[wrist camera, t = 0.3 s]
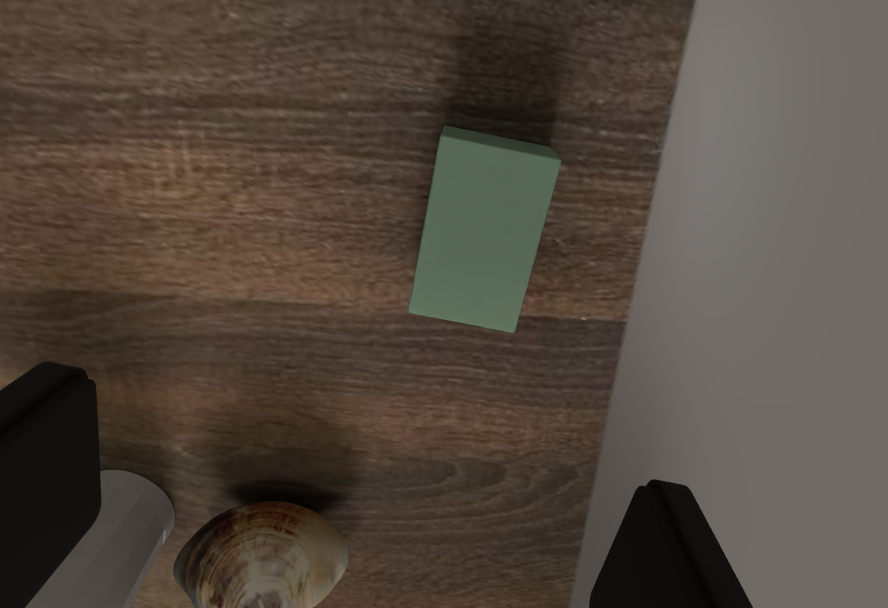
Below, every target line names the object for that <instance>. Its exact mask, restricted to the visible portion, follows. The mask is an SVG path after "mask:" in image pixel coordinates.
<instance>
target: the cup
mask: <svg viewBox="0 0 888 608" xmlns="http://www.w3.org/2000/svg"><path fill="white" fill-rule="evenodd" d="M100 478H101V499H102V502H101V509H100V512H99V515H98V517H97V519H96V521H95V523H94V524H93V525H92V527H91V528H90V529H89V530H88V532H87V533H86V534H85V535H84V537H83V538H82V539H81V540H80V541H79V543H78V544H77V545H76V546H75V548H74V549H73V550H72V551H71V552H70V554H69V555H68V556H67V557H66V559H65V560H64V561H63V562H62V563H61V565H60V566H59V567H58V568H57V570H56V571H55V572H54V573H53V574H52V576H51V577H50V578H49V579H48V581H47V582H46V583H45V584H44V585H43V587H42V588H41V589H40V590H39V592H38V593H37V594H36V595H35V596H34V598H33V599H32V600H31V601H30V603H29V604H28V605H27V606H26V607H25V608H130V606H131V604H132V602H133V601H134V599H135V597H136V595H137V593H138V591H139V589H140V587H141V585H142V583H143V581H144V579H145V578H146V576H147V574H148V572H149V570H150V568H151V566H152V564H153V562H154V560H155V558H156V557H157V555H158V553H159V551H160V549H161V547H162V545H163V544H164V542H165V540H166V539H167V537H168V536H169V534H170V532H171V531H172V529H173V527H174V524H175V512H174V508H173V505H172V503H171V501H170V500H169V498H168V497H167V495H166V494H165V493H164V492H163V491H162V490H161V489H160V488H159V487H158V486H157V485H155V484H154V483H153V482H151V481H150V480H148V479H146V478H144V477H142V476H140V475H137V474H135V473H131V472H128V471H123V470H102V471H100Z"/></svg>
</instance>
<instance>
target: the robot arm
mask: <svg viewBox="0 0 888 608" xmlns="http://www.w3.org/2000/svg"><path fill="white" fill-rule="evenodd" d="M101 502H102V499H101V478H100V458H99V437H98V416H97V396H96V385H95V382H94V381H93V380H91V379H88V376H87V373H86V372H85V370H83V369H81V368H77V367H72V366H67V365H61V364H56V363H51V362H43V363H40V364H38V365H37V366H35V367H34V368H32V369H31V370H29V371H28V372H26V373H25V374H24V375H22V376H21V377H19V378H18V379H16V380H15V381H13V382H12V383H11V384H9V385H8V386H6V387H5V388H3V389H2V390H0V608H25V607H26V606H27V605H28V604H29V603H30V601H31V600H32V599H33V598H34V596H35V595H36V594H37V593H38V592H39V590H40V589H41V588H42V587H43V585H44V584H45V583H46V582H47V581H48V579H49V578H50V577H51V576H52V574H53V573H54V572H55V571H56V570H57V568H58V567H59V566H60V565H61V563H62V562H63V561H64V560H65V559H66V557H67V556H68V555H69V554H70V552H71V551H72V550H73V549H74V548H75V546H76V545H77V544H78V543H79V541H80V540H81V539H82V538H83V537H84V535H85V534H86V533H87V532H88V530H89V529H90V528H91V527H92V525H93V524H94V523H95V521H96V519H97V517H98V515H99V512H100V509H101ZM589 608H753V607H752V605H751V603H750V601H749V599H748V597H747V596H746V594H745V592H744V590H743V588H742V586H741V584H740V582H739V580H738V579H737V577H736V575H735V573H734V571H733V569H732V567H731V565H730V564H729V562H728V560H727V558H726V556H725V554H724V552H723V550H722V548H721V547H720V545H719V543H718V541H717V539H716V537H715V535H714V533H713V532H712V530H711V528H710V526H709V524H708V522H707V520H706V518H705V516H704V515H703V513H702V511H701V509H700V507H699V505H698V503H697V502H696V499H695V498H694V496H693V494H692V492H691V490H690V489H689V488H688V487H687V486H685V485H681V484H676V483H671V482H666V481H661V480H655V479H654V480H651V481H649V482H648V484H647V485H646V486H639V487H638V488H637V490H636V491H635V493H634V496H633V498H632V500H631V502H630V505H629V507H628V510H627V512H626V514H625V516H624V518H623V521H622V523H621V525H620V528H619V530H618V532H617V535H616V537H615V539H614V541H613V544H612V546H611V548H610V551H609V553H608V555H607V557H606V560H605V562H604V564H603V567H602V569H601V571H600V574H599V576H598V578H597V581H596V583H595V585H594V587H593V590H592V593H591V596H590V604H589Z"/></svg>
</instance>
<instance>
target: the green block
mask: <svg viewBox="0 0 888 608" xmlns="http://www.w3.org/2000/svg"><path fill="white" fill-rule="evenodd" d="M561 162H562V160H561V159H560V158H559V157H558V155H557V154H556V153H555V152H554V151H553V150H552V149H551V148H550V147H547V146H543V145H538V144H533V143H528V142H523V141H518V140H514V139H509V138H504V137H499V136H494V135H489V134H485V133H480V132H475V131H470V130H465V129H460V128H455V127H451V126H444V127H443V130H442V133H441V135H440V139H439V145H438V150H437V156H436V161H435V167H434V172H433V178H432V183H431V188H430V194H429V199H428V205H427V210H426V216H425V221H424V226H423V232H422V237H421V243H420V248H419V254H418V259H417V265H416V270H415V275H414V281H413V286H412V292H411V297H410V303H409V308H408V312H409V313H413V314H419V315H424V316H429V317H434V318H439V319H445V320H450V321H455V322H460V323H465V324H471V325H476V326H481V327H486V328H491V329H497V330H502V331H507V332H512V333H514V332H515V329H516V326H517V322H518V318H519V315H520V311H521V307H522V304H523V300H524V296H525V293H526V289H527V286H528V282H529V278H530V275H531V271H532V267H533V264H534V260H535V256H536V253H537V249H538V246H539V242H540V238H541V235H542V231H543V227H544V224H545V220H546V216H547V213H548V209H549V206H550V202H551V198H552V195H553V191H554V187H555V184H556V180H557V176H558V173H559V169H560V166H561Z"/></svg>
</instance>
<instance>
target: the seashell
mask: <svg viewBox="0 0 888 608" xmlns="http://www.w3.org/2000/svg"><path fill="white" fill-rule="evenodd" d="M348 560H349V547H348V544H347V543H346V541H345V539H344V538H343V536H342V535H341V533H340V532H339V531H338V530H337V529H336V528H335V527H334V526H333V525H332V524H331V523H330V522H329V521H328V520H327V519H325V518H324V517H323V516H321V515H320V514H318V513H316V512H314V511H312V510H310V509H308V508H305V507H303V506H299V505H296V504H292V503H288V502H281V501H265V502H257V503H251V504H246V505H242V506H239V507H236V508H233V509H230V510H228V511H226V512H224V513H222V514H220V515H218V516H216V517H215V518H213V519H212V520H210V521H209V522H208V523H207V524H205V525H204V526H203V527H202V528H201V529H200V530H198V532H197V533H196V534H195V535H194V536H193V537H192V538H191V539H190V540H189V541H188V542H187V543H186V545H185V546H184V547H183V549H182V550H181V551H180V553H179V555H178V556H177V559H176V561H175V563H174V567H173V572H174V577H175V579H176V581H177V582H178V583H179V585H180V586H181V587H182V589H183V590H184V591H185V592H186V594H187V595H188V596H189V598H190V599H191V601H192V603H193V605H194V606H195V608H313V607H314V606H316V605H317V604H318V603H320V602H321V601H322V600H323V599H324V598H325V597H326V596H327V595H328V594H329V593H330V591H331V590H332V589H333V587H334V586H335V585H336V583H337V582H338V581H339V579H340V578H341V577H342V575H343V573H344V571H345V569H346V567H347V564H348Z"/></svg>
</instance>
